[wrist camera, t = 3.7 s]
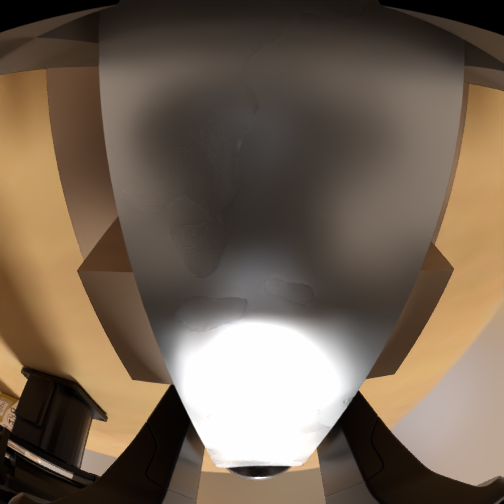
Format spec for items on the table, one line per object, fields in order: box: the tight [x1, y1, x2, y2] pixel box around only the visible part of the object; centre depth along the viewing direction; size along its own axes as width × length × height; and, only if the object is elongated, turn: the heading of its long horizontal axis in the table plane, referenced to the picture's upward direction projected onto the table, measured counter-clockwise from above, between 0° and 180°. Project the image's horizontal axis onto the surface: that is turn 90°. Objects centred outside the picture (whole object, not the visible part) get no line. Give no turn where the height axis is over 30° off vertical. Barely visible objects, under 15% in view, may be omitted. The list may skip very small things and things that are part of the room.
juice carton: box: [0, 392, 41, 464], centre depth 16 cm, size 8×9×19 cm
